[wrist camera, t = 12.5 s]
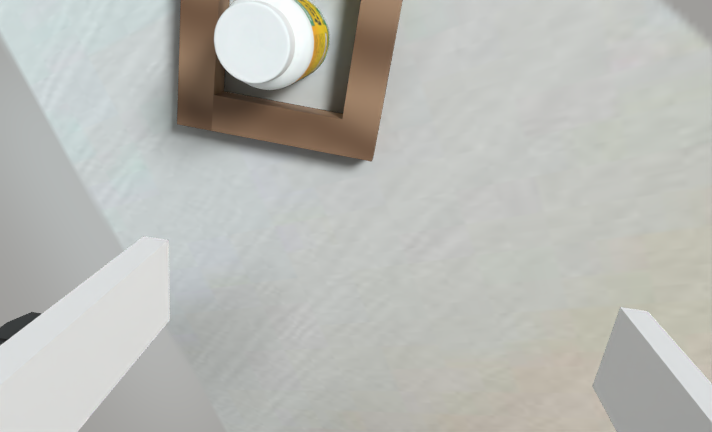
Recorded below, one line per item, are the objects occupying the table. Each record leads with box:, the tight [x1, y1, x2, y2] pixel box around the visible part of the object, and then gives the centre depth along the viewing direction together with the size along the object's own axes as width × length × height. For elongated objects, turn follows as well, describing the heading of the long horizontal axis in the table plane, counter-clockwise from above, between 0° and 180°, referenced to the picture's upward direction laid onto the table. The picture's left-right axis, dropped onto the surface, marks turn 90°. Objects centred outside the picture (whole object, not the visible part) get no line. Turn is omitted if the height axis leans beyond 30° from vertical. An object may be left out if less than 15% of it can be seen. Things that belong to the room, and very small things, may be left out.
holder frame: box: [177, 0, 403, 161], centre depth 33 cm, size 14×14×2 cm
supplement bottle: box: [214, 0, 330, 90], centre depth 29 cm, size 5×5×10 cm
